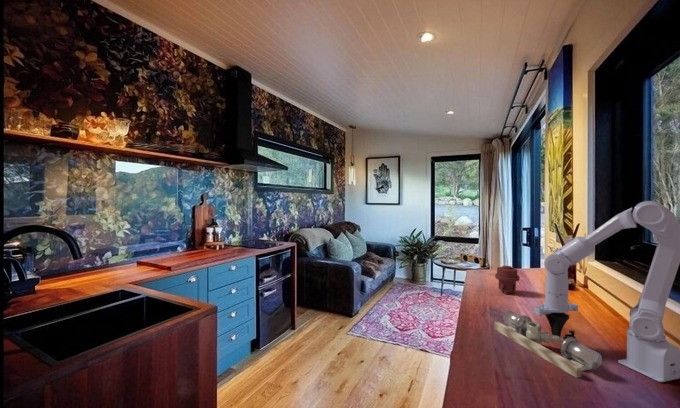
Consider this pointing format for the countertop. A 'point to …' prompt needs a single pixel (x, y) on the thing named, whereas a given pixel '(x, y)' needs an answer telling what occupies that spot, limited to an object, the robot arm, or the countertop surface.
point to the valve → (543, 334)
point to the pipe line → (568, 347)
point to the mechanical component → (507, 279)
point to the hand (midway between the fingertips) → (555, 335)
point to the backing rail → (539, 350)
